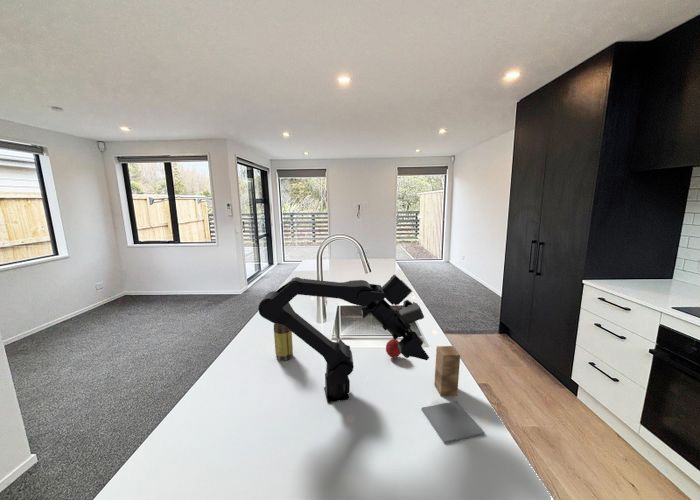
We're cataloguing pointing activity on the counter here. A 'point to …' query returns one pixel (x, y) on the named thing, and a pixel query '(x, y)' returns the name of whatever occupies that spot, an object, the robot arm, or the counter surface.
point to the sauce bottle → (283, 342)
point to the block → (447, 370)
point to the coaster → (452, 422)
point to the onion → (393, 348)
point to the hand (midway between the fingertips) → (422, 350)
